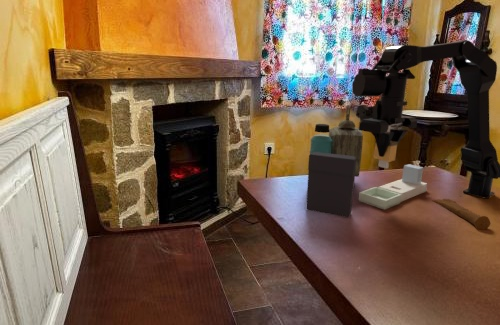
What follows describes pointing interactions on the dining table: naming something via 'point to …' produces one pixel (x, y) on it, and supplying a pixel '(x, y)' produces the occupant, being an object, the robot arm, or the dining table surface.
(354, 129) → the grey brown pump bottle
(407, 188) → the white flat block
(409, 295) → the dining table surface
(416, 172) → the block
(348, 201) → the upright charcoal panel
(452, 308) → the dining table surface
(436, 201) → the primitive tool
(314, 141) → the beverage bottle
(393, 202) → the parts tray
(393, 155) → the block
